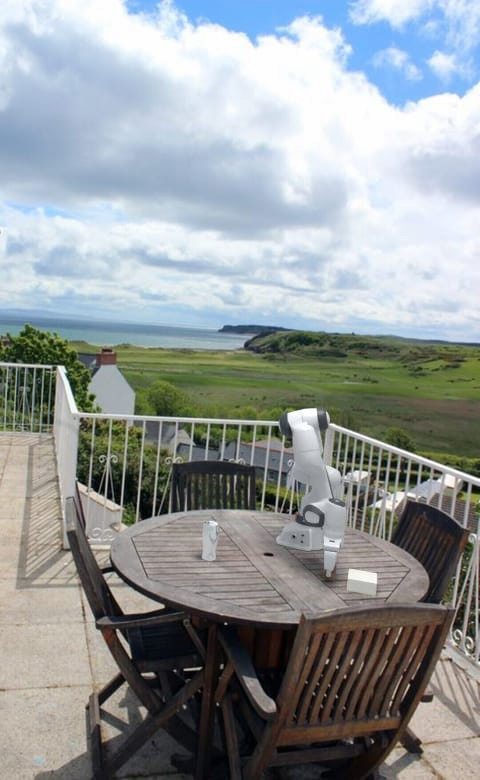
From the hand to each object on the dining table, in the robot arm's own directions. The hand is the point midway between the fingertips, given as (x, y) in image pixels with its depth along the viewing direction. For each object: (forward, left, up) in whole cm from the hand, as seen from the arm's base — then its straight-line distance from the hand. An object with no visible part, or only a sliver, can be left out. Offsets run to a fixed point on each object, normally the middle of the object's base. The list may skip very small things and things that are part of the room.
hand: (329, 573), depth 228 cm
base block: (+13, -4, -2) cm, 14 cm away
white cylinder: (-50, -2, -2) cm, 50 cm away
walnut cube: (0, 0, -2) cm, 2 cm away
